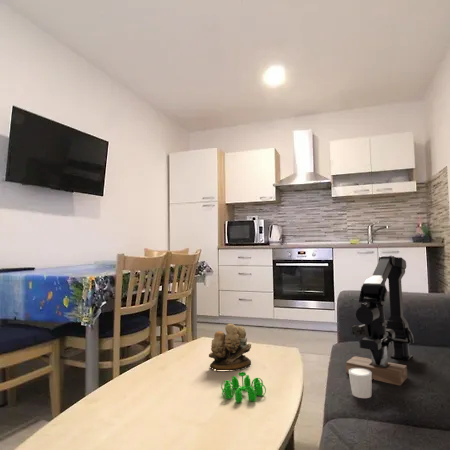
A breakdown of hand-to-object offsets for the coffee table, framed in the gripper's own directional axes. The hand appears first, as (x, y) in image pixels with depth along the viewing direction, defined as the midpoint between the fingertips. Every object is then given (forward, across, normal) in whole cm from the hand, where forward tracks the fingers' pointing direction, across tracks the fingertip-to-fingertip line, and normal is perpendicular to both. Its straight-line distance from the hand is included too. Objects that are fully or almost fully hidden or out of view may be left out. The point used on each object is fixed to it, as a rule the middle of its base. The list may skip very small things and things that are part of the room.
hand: (379, 363), depth 120 cm
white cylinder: (+5, +17, 0) cm, 18 cm away
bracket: (+3, 0, 0) cm, 3 cm away
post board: (+4, 0, -2) cm, 5 cm away
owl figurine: (+5, +21, -51) cm, 55 cm away
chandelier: (+5, +38, -30) cm, 49 cm away
